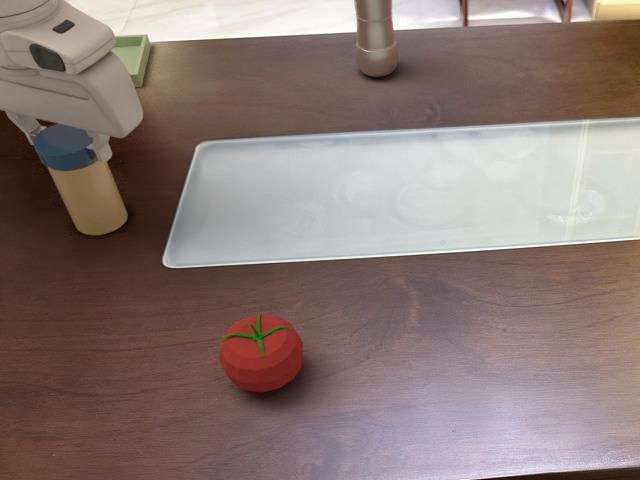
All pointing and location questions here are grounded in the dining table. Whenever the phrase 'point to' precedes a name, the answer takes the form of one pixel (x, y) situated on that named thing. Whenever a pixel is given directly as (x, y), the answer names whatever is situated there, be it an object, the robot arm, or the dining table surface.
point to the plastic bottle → (375, 37)
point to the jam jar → (91, 198)
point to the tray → (133, 55)
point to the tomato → (261, 353)
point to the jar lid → (63, 147)
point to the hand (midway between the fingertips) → (72, 151)
